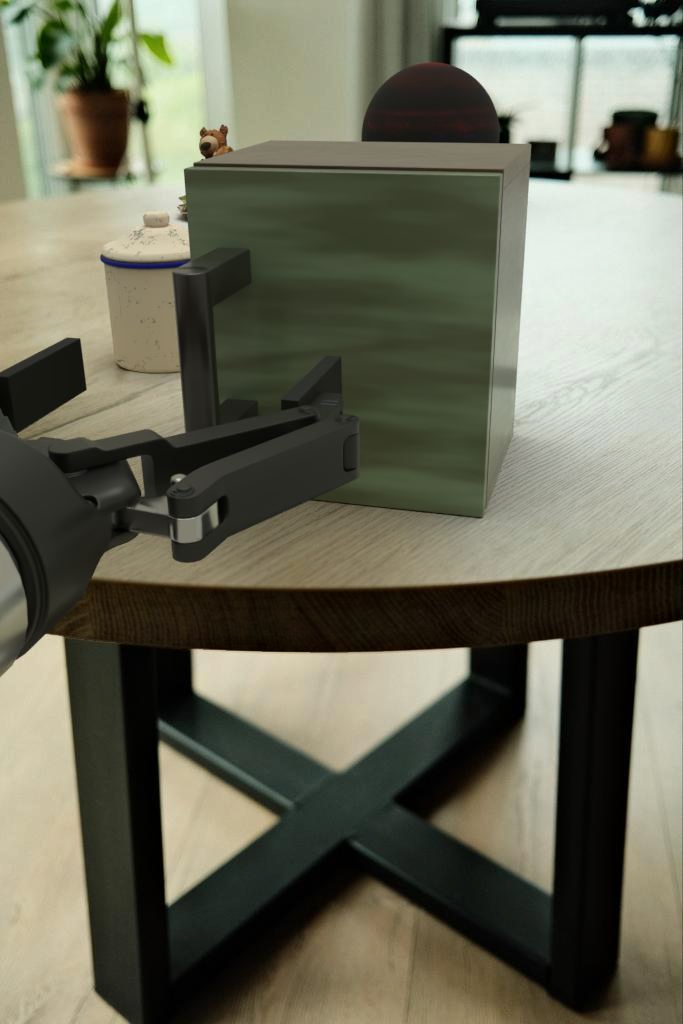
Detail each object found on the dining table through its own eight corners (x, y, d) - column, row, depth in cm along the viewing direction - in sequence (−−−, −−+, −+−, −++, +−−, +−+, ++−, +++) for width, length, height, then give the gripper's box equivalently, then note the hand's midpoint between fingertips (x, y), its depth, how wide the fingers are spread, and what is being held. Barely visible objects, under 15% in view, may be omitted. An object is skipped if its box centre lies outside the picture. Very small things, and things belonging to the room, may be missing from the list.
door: (462, 573, 49) (479, 194, 42) (160, 536, 53) (125, 185, 46) (485, 510, 56) (503, 172, 48) (213, 482, 60) (190, 166, 52)
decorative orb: (477, 196, 162) (483, 59, 154) (511, 216, 144) (520, 62, 136) (353, 200, 160) (352, 62, 152) (372, 221, 142) (372, 65, 134)
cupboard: (486, 511, 56) (504, 168, 48) (215, 482, 60) (192, 162, 52) (513, 435, 66) (531, 143, 59) (281, 415, 70) (269, 140, 63)
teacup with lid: (229, 371, 80) (219, 218, 75) (111, 379, 78) (93, 224, 73) (217, 332, 90) (208, 196, 86) (113, 338, 89) (97, 200, 84)
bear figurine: (161, 222, 144) (153, 130, 139) (199, 206, 157) (193, 122, 152) (252, 224, 141) (248, 131, 136) (283, 208, 154) (280, 122, 149)
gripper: (-351, 625, 36) (-9, 424, 55) (318, 739, 30) (450, 468, 48) (-421, 427, 33) (-33, 284, 51) (312, 508, 27) (455, 312, 45)
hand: (201, 373), depth 50 cm, fingers open, 13 cm apart
